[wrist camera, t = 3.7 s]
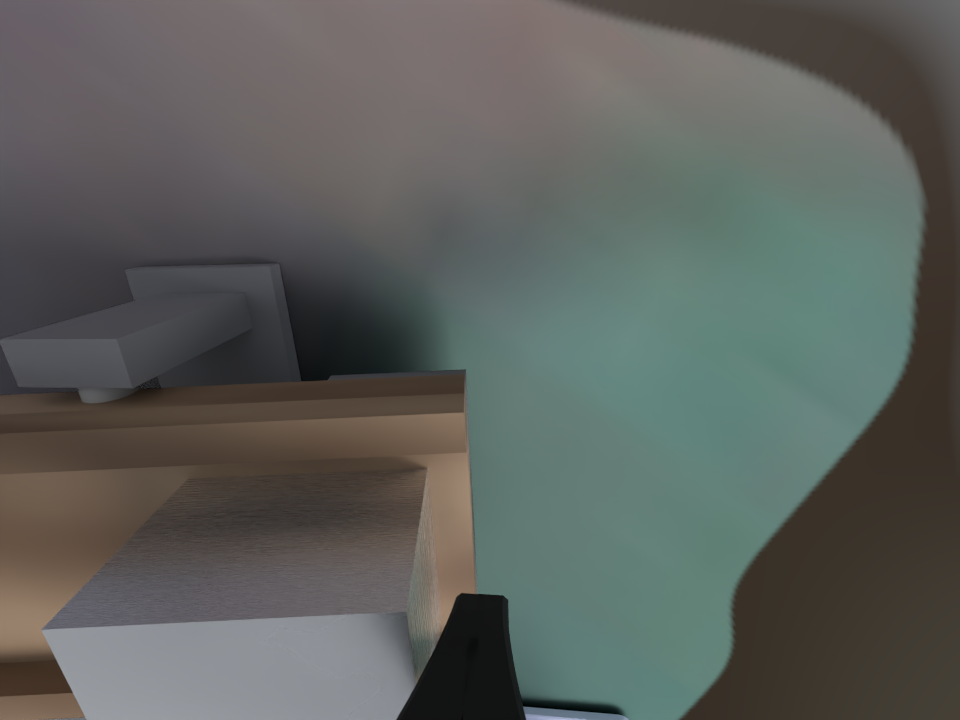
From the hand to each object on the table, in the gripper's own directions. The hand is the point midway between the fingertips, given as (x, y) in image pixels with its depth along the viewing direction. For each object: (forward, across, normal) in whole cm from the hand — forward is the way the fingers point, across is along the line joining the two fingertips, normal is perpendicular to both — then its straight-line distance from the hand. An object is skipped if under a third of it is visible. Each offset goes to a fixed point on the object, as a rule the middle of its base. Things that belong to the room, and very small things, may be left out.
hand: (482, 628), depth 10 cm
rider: (+2, +4, 0) cm, 5 cm away
